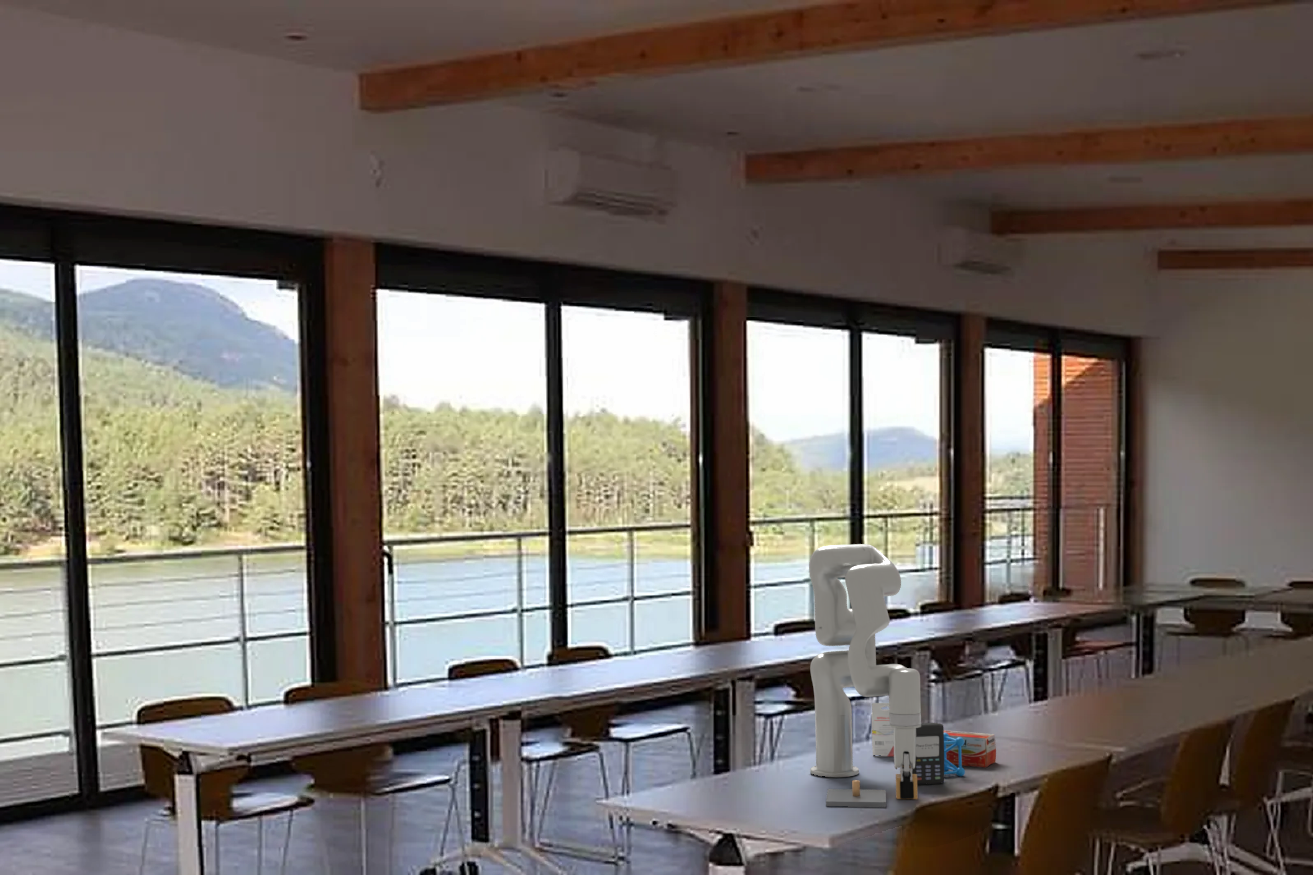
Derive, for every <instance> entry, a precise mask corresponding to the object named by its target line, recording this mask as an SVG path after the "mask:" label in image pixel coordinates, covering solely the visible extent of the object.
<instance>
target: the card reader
mask: <svg viewBox="0 0 1313 875" xmlns="http://www.w3.org/2000/svg"><path fill="white" fill-rule="evenodd" d="M944 730H945V728H944V725H943V723H940V722H921V727H919V728H916V761H915V768H914V769H912V774H917V786H921V785H922V786H923V785H937V784H938V785H939V784H940V785H941V784H942V783H944V782H945V775H944V772H945V771H944ZM909 772H910V771H909Z"/></svg>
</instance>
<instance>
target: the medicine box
mask: <svg viewBox="0 0 1313 875" xmlns="http://www.w3.org/2000/svg"><path fill="white" fill-rule="evenodd" d="M944 733H947V734H948V735H949V737H950V738H954V739H956V738H958V737H961V738H963V739H964V745H963V746H961V758H962V767H963V766H965V767H972V768H973V767H974V768H975V767H976V768H988V767H989V766H990V765H993V764H995V763H997V762H996V761H997V759H996V758H997V742H996V734H995V733H987V732H986V733H984V732H970V731H956V730H945V729H944ZM948 741H951V740H948ZM952 745H953V744H946V749H947V748H949V747H950V746H952ZM946 759H947V760H948V761H949V762H951V763H952V764H953V765H955V766H959V752H958V746H955V747H954V748H952V749H951V750H949V751H948V752H946Z"/></svg>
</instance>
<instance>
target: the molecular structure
mask: <svg viewBox="0 0 1313 875" xmlns="http://www.w3.org/2000/svg"><path fill="white" fill-rule="evenodd" d="M948 740H951V741H948ZM946 744H953V745H952V746H950V747H949V748H947V749H946ZM963 745H964V739H963V738H961V737H958V738H956V739H954V738H950V737H949V735H948V734H947V733H944V776H945V775H956V776H958V777H963V776H965V774H966V770H965V769H964V768H963V766H962V758H961V746H963ZM955 746H958V752H959V765H958V767H957V765H953V764H952V763H951V762H949V761H948V760H947V759H946V752H948V751H949V750H951V749H952V748H954V747H955ZM949 770H950V771H949Z"/></svg>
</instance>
